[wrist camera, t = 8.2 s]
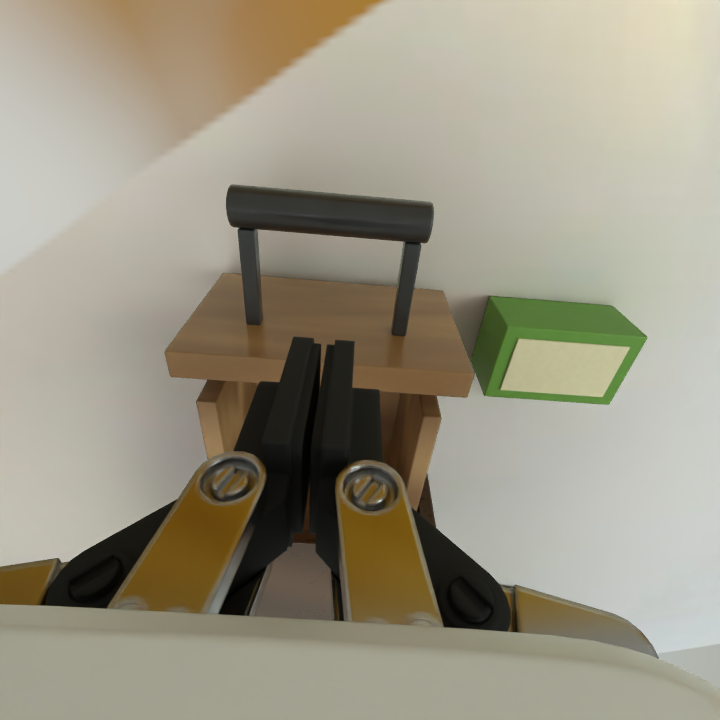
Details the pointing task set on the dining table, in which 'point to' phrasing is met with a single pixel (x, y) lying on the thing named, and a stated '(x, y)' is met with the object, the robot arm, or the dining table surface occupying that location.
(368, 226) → the drawer
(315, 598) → the cabinet
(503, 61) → the dining table surface
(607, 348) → the snack box
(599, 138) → the dining table surface
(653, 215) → the dining table surface
